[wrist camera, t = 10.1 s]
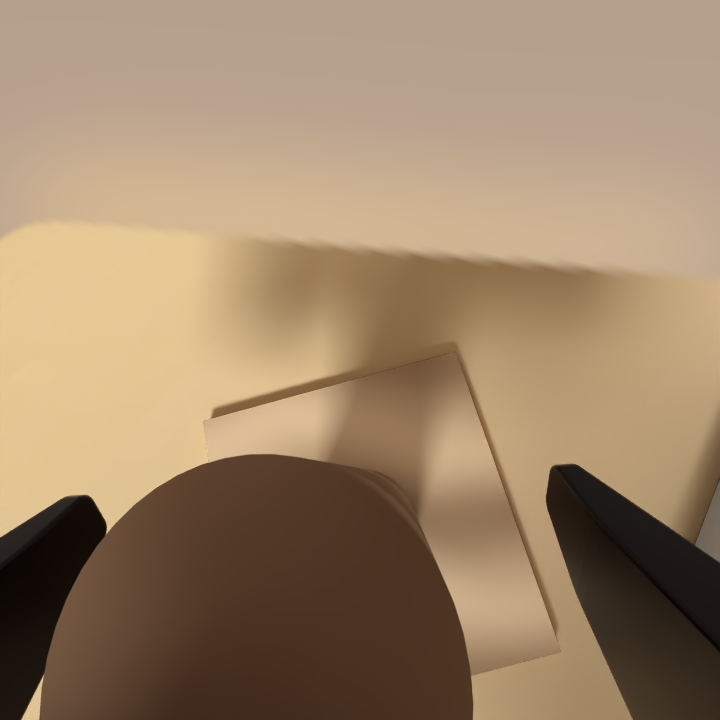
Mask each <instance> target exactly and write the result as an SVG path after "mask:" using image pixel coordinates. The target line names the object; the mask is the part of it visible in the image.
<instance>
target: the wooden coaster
mask: <svg viewBox="0 0 720 720" xmlns="http://www.w3.org/2000/svg"><path fill="white" fill-rule="evenodd" d="M203 424H204V431H205V439H206V446H207V453H208V461H209V463H210V462H213V461H216V460H220V459H223V458H228V457H235V456H241V455H248V454H277V455H286V456H294V457H301V458H306V459H312V460H317V461H323V462H328V463H334V464H340V465H345V466H351V467H356V468H362V469H368V470H373V471H376V472H379V473H382V474H384V475H386V476H388V477H389V478H391V479H392V480H394V481H395V482H396V483H397V484H398V485H399V486H400V487H401V488H402V489H403V491H404V492H405V493H406V495H407V497H408V498H409V500H410V502H411V505H412V507H413V509H414V512H415V514H416V516H417V519H418V521H419V523H420V525H421V528H422V530H423V532H424V535H425V537H426V539H427V541H428V544H429V546H430V548H431V551H432V553H433V555H434V558H435V560H436V562H437V564H438V567H439V569H440V571H441V574H442V576H443V578H444V581H445V583H446V585H447V587H448V590H449V592H450V594H451V597H452V599H453V601H454V604H455V607H456V610H457V614H458V617H459V620H460V623H461V627H462V630H463V633H464V638H465V643H466V648H467V653H468V659H469V664H470V670H471V676H472V675H475V674H479V673H483V672H487V671H491V670H494V669H498V668H502V667H506V666H510V665H513V664H517V663H521V662H525V661H528V660H532V659H536V658H540V657H544V656H547V655H551V654H555V653H559V652H561V650H560V647H559V644H558V641H557V639H556V636H555V633H554V630H553V627H552V624H551V621H550V619H549V616H548V613H547V610H546V607H545V604H544V602H543V599H542V596H541V593H540V590H539V587H538V585H537V582H536V579H535V576H534V573H533V570H532V568H531V565H530V562H529V559H528V556H527V553H526V550H525V548H524V545H523V542H522V539H521V536H520V533H519V531H518V528H517V525H516V522H515V519H514V516H513V514H512V511H511V508H510V505H509V502H508V499H507V496H506V494H505V491H504V488H503V485H502V482H501V479H500V477H499V474H498V471H497V468H496V465H495V462H494V460H493V457H492V454H491V451H490V448H489V445H488V443H487V440H486V437H485V434H484V431H483V428H482V425H481V423H480V420H479V417H478V414H477V411H476V408H475V406H474V403H473V400H472V397H471V394H470V391H469V389H468V386H467V383H466V380H465V377H464V374H463V371H462V369H461V366H460V363H459V360H458V357H457V354H456V352H452V353H449V354H445V355H442V356H438V357H434V358H431V359H427V360H423V361H420V362H416V363H412V364H409V365H405V366H402V367H398V368H394V369H391V370H387V371H383V372H380V373H376V374H372V375H369V376H365V377H361V378H358V379H354V380H351V381H347V382H343V383H340V384H336V385H332V386H329V387H325V388H321V389H318V390H314V391H310V392H307V393H303V394H300V395H296V396H292V397H289V398H285V399H281V400H278V401H274V402H270V403H267V404H263V405H260V406H256V407H252V408H249V409H245V410H241V411H238V412H234V413H230V414H227V415H223V416H219V417H216V418H212V419H209V420H205V421H203Z"/></svg>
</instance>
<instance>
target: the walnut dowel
mask: <svg viewBox="0 0 720 720" xmlns="http://www.w3.org/2000/svg"><path fill="white" fill-rule="evenodd" d="M39 720H473V697H472V684H471V670H470V664H469V659H468V653H467V648H466V643H465V638H464V633H463V630H462V627H461V623H460V620H459V617H458V614H457V610H456V607H455V604H454V601H453V599H452V597H451V594H450V592H449V590H448V587H447V585H446V583H445V581H444V578H443V576H442V574H441V571H440V569H439V567H438V564H437V562H436V560H435V558H434V555H433V553H432V551H431V548H430V546H429V544H428V541H427V539H426V537H425V535H424V532H423V530H422V528H421V525H420V523H419V521H418V519H417V516H416V514H415V512H414V509H413V507H412V505H411V502H410V500H409V498H408V497H407V495H406V493H405V492H404V491H403V489H402V488H401V487H400V486H399V485H398V484H397V483H396V482H395V481H394V480H392V479H391V478H389V477H388V476H386V475H384V474H382V473H379V472H376V471H373V470H368V469H362V468H356V467H351V466H345V465H340V464H334V463H328V462H323V461H317V460H312V459H306V458H301V457H294V456H286V455H277V454H248V455H241V456H235V457H228V458H223V459H220V460H216V461H213V462H210V463H206V464H203V465H200V466H198V467H195V468H193V469H191V470H188V471H186V472H184V473H182V474H179V475H177V476H176V477H174V478H172V479H171V480H169V481H167V482H166V483H164V484H162V485H161V486H159V487H157V488H156V489H154V490H153V491H152V492H150V493H149V494H148V495H147V496H145V497H144V498H143V499H141V500H140V501H139V502H138V503H136V504H135V505H134V506H133V507H132V508H131V509H130V510H129V511H128V512H127V513H126V514H125V515H124V516H123V517H122V518H121V519H120V520H119V521H118V522H117V523H115V525H114V526H113V527H112V528H111V530H110V531H109V532H108V533H107V534H106V536H105V537H104V538H103V539H102V541H101V542H100V543H99V544H98V545H97V547H96V548H95V550H94V551H93V553H92V554H91V556H90V558H89V559H88V561H87V562H86V564H85V565H84V567H83V568H82V570H81V572H80V574H79V575H78V577H77V579H76V581H75V583H74V585H73V587H72V589H71V591H70V593H69V595H68V597H67V599H66V602H65V604H64V607H63V609H62V612H61V615H60V617H59V620H58V622H57V625H56V628H55V631H54V635H53V639H52V642H51V646H50V649H49V653H48V656H47V662H46V667H45V673H44V679H43V684H42V692H41V706H40V719H39Z"/></svg>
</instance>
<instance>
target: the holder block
mask: <svg viewBox="0 0 720 720" xmlns="http://www.w3.org/2000/svg"><path fill="white" fill-rule="evenodd" d="M695 546H697V547H698V548H700V549H701V550H703V551H704V552H706V553H707V554H709V555H710V556H711V557H713V558H714V559H716V560H717V561H719V562H720V480H719V483H718V485H717V488H716V491H715V493H714V496H713V498H712V501H711V504H710V506H709V509H708V512H707V514H706V517H705V519H704V522H703V525H702V527H701V530H700V533H699V535H698V538H697V540H696V543H695Z"/></svg>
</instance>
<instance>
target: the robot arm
mask: <svg viewBox="0 0 720 720" xmlns="http://www.w3.org/2000/svg"><path fill="white" fill-rule="evenodd" d="M546 504H547V509H548V512H549V515H550V518H551V521H552V524H553V527H554V530H555V533H556V536H557V539H558V542H559V545H560V548H561V551H562V554H563V557H564V560H565V563H566V566H567V569H568V572H569V575H570V578H571V581H572V584H573V586H574V589H575V592H576V594H577V597H578V599H579V601H580V604H581V606H582V608H583V611H584V613H585V615H586V617H587V620H588V622H589V624H590V626H591V628H592V631H593V633H594V635H595V637H596V639H597V642H598V644H599V646H600V648H601V650H602V653H603V655H604V657H605V659H606V661H607V664H608V666H609V668H610V670H611V673H612V675H613V677H614V679H615V681H616V684H617V686H618V688H619V690H620V692H621V695H622V697H623V699H624V701H625V703H626V706H627V708H628V710H629V712H630V714H631V717H632V719H633V720H720V562H719V561H717V560H716V559H714V558H713V557H711V556H710V555H709V554H707V553H706V552H704V551H703V550H701V549H700V548H698V547H697V546H695V545H694V544H692V543H691V542H690V541H688V540H687V539H685V538H684V537H682V536H681V535H679V534H678V533H676V532H675V531H673V530H672V529H671V528H669V527H668V526H666V525H665V524H663V523H662V522H660V521H659V520H657V519H656V518H654V517H653V516H652V515H650V514H649V513H647V512H646V511H644V510H643V509H641V508H640V507H638V506H637V505H635V504H634V503H633V502H631V501H630V500H628V499H627V498H625V497H624V496H622V495H621V494H619V493H618V492H616V491H615V490H614V489H612V488H611V487H609V486H608V485H606V484H605V483H603V482H602V481H600V480H599V479H597V478H596V477H595V476H593V475H592V474H590V473H589V472H587V471H586V470H584V469H583V468H581V467H580V466H578V465H576V464H561V465H554V466H552V468H551V469H550V474H549V480H548V487H547V494H546ZM106 531H107V525H106V521H105V519H104V518H103V516H102V514H101V512H100V511H99V509H98V507H97V505H96V504H95V502H94V500H93V499H92V498H91V497H90V496H88V495H73V496H67V497H64V498H62V499H60V500H59V501H57V502H56V503H54V504H53V505H51V506H49V507H48V508H46V509H45V510H43V511H42V512H40V513H38V514H37V515H35V516H34V517H32V518H30V519H29V520H27V521H26V522H24V523H23V524H21V525H19V526H18V527H16V528H15V529H13V530H11V531H10V532H8V533H7V534H5V535H4V536H2V537H0V720H21V719H22V717H23V715H24V713H25V711H26V709H27V707H28V705H29V703H30V701H31V699H32V697H33V695H34V693H35V691H36V689H37V687H38V685H39V683H40V681H41V679H42V677H43V675H44V673H45V667H46V662H47V656H48V653H49V649H50V646H51V642H52V639H53V635H54V631H55V628H56V625H57V622H58V620H59V617H60V615H61V612H62V609H63V607H64V604H65V602H66V599H67V597H68V595H69V593H70V591H71V589H72V587H73V585H74V583H75V581H76V579H77V577H78V575H79V574H80V572H81V570H82V568H83V567H84V565H85V564H86V562H87V561H88V559H89V558H90V556H91V554H92V553H93V551H94V550H95V548H96V547H97V545H98V544H99V543H100V542H101V541H102V539H103V538H104V537H105V535H106Z"/></svg>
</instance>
